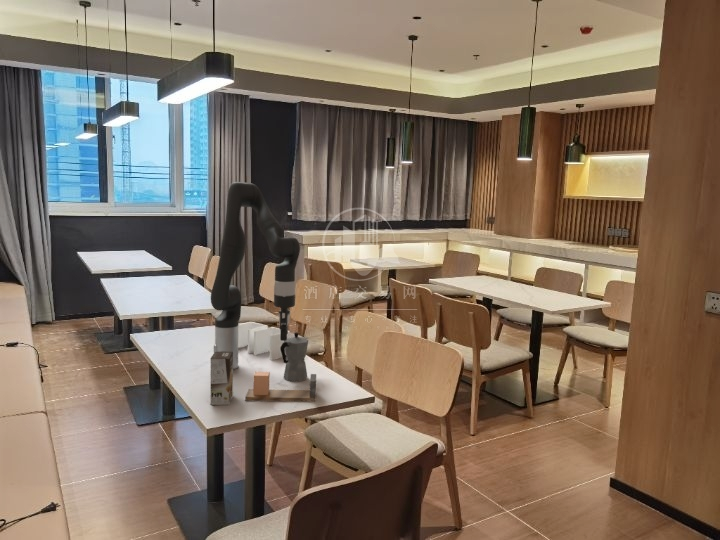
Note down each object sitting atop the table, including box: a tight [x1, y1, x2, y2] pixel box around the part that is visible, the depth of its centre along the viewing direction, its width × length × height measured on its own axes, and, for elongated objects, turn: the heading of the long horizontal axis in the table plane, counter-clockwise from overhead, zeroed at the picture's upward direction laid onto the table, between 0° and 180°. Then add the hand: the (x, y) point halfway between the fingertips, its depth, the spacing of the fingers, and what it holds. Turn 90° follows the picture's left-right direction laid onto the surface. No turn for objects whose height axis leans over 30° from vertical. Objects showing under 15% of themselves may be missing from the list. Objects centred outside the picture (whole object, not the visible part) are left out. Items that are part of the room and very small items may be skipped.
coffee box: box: [209, 351, 234, 406], centre depth 197 cm, size 9×6×16 cm
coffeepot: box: [280, 332, 309, 382], centre depth 222 cm, size 15×9×18 cm, turn 147°
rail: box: [245, 373, 317, 402], centre depth 202 cm, size 24×8×7 cm, turn 93°
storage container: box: [238, 321, 291, 361], centre depth 257 cm, size 25×11×11 cm, turn 52°
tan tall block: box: [252, 371, 271, 395], centre depth 202 cm, size 5×4×7 cm
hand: (284, 337), depth 208 cm, fingers open, 8 cm apart
